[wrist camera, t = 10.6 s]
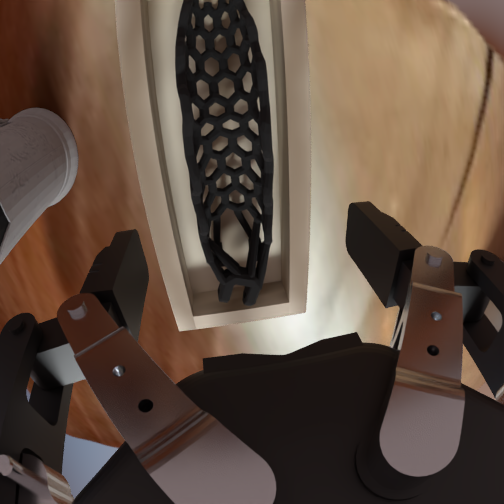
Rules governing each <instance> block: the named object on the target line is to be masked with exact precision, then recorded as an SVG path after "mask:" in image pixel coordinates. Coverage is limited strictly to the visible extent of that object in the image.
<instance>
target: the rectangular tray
mask: <svg viewBox="0 0 504 504" xmlns="http://www.w3.org/2000/svg"><path fill="white" fill-rule="evenodd" d="M226 1H227V3H228V4H229V0H226ZM204 2H212V7H213V8H214V9H216V8H217V6H218V0H199V6H200V8H201V9H202V8H203V5H204ZM244 2H245V5H246V7H247V9H248V11H249V13H250V14H251V16H252V17H253V19H254V21H255V24H256V27H257V30H258V39H259V44H260V48H261V52H262V54H263V57H264V59H265V61H266V67H267V76H268V90H269V101H270V113H271V131H272V149H273V156H274V176H273V225H272V240H273V241H272V243H271V246H270V250H269V256H268V263H267V269H266V274H265V278H264V282H263V286H262V289H261V290H260V292H259V295H258V298H257V301H256V303H255V304H254V305H253V306H246V305H244V304H243V301H242V299H243V291H244V288H245V286H241V285H234V287H233V290H232V294H231V297H230V300H229V301H228V302H227V303H224V302H220V301H219V299H218V287H219V283H220V282H219V281H218V280H217V278H216V276H215V274H214V272H213V270H212V268H211V267H210V265H209V264H207V263H206V258H205V255H204V252H203V249H202V246H201V242H200V238H199V234H198V227H197V218H196V213H195V210H194V206H193V203H192V199H191V191H190V179H189V170H188V166H187V163H186V159H185V154H184V145H183V135H182V112H181V106H180V99H179V96H178V92H177V87H176V73H175V45H176V36H177V28H178V21H179V16H180V11H181V7H182V4H183V0H115V12H116V27H117V39H118V50H119V60H120V69H121V77H122V85H123V92H124V99H125V106H126V113H127V119H128V125H129V131H130V137H131V143H132V148H133V154H134V159H135V164H136V169H137V174H138V179H139V183H140V188H141V193H142V197H143V202H144V206H145V210H146V215H147V219H148V223H149V227H150V231H151V235H152V239H153V243H154V247H155V251H156V254H157V258H158V262H159V265H160V269H161V273H162V276H163V280H164V283H165V287H166V290H167V293H168V297H169V300H170V303H171V307H172V310H173V313H174V316H175V319H176V323H177V326H178V329H179V331H185V330H193V329H201V328H209V327H217V326H224V325H231V324H238V323H245V322H251V321H258V320H264V319H270V318H276V317H282V316H288V315H294V314H299V313H305V312H306V301H307V285H308V266H309V242H310V210H311V103H310V73H309V51H308V34H307V19H306V6H305V0H244ZM237 13H238V16H239V19H240V15H239V12H238V10H237ZM221 20H222V25H223V27H224V28H227V29H228V27H229V24H230V18H229V15H228V13H227V12H224V13H223V15H222V17H221ZM191 23H192V26H193V29H194V28H195V16H194V14H192V20H191ZM204 27H205V28H206V29H207V30H208V32H210V31H211V30H212V29H213V19H212V18H211V17H210V16H209V15H207V16H206V17H205V18H204ZM234 37H235V41H236V45H238V46H240V45H241V42H242V39H243V38H242V35H241V32H240V29H239V28H237V30H236V33H235V35H234ZM214 44H215V50H217V51H219V52H220V53H222V52H223V51H224V50H225V49H226V47H227V44H226V38H225V37H224V36H222V35H220V34H219V35H218V36H217V37H216V38H215V39H214ZM196 48H197V50H198V51H199V52H200V54H202V53H203V52H204V51H205V40H204V39H203V38H202V37H201V36H200V35H198V36H197V37H196ZM248 56H249V60H250V63H251V62H252V57H253V56H252V52H251V48H250V49H249V52H248ZM240 65H241V64H240V59H239V55H237V54H234V53H233V54H232V55H231V56H230V57H229V59H228V68H229V70H231V71H233V72H235V73H236V71H237V70H238V68H239V67H240ZM189 68H190V69H191V71H192V73H195V72H196V68H195V61H194V60H193V58H192V57H191V56H190V55H189ZM205 71H206V72H207V73H208V74H210V75H211V76H214V75H215V74H216V73H217V72H219V62H218V61H217V60H215V59H213V58H212V57H210V58H209V59H207V60H206V61H205ZM242 80H243V86H244V90H245V91H247V92H249V93H250V90H251V87H252V84H253V83H252V77H251V73H249V72H247V73H246V74H245V76H244V78H243V79H242ZM196 85H197V93H198V95H199V96H200V97H201V98H202V99H203V100H205V99H206V98H207V97H208V96H209V85H208V84H207V83H206V82H204V81H203V80H199V81H198V82H197V83H196ZM218 86H219V94H220V95H222V96H224V97H226V98H227V99H228V98H229V97H230V96H231V95H232V94H233V93H234V92H235V91H234V83H233V81H232V80H230V79H227V78H224V79H223V80H221V81H220V82H219V83H218ZM257 103H258V109H259V111H260V103H259V97H258V99H257ZM192 110H193V116H194V119H195V120H196V119H197V118H198V117H199V116H200V114H199V109H198V108H197V107H196V106H195V105H194V104H193V103H192ZM234 111H235V112H238V113H240V114H242V115H243V114H244V113H245V112H246V111H248V105H247V102H246V101H244V100H242V99H240V100H239V101H238V102H237V103H236V104H235V106H234ZM224 112H225V108H224V107H223V106H221V105H219V104H217V103H214V104H213V105H212V106H211V107H210V108H209V114H211V115H214V116H219V115H221V114H223V113H224ZM223 127H224V128H228V129H231V130H233V129H235V128H238V127H239V123H237V122H235V121H233V120H231V119H230V120H228V121H227V122H225V123H223ZM249 127H250V129H251V130H252V131H253V132H254V133H256V134H257V135H259V133H258V124H257V123H256V122H255V121H254V120H253V119H252V120H251V121H249ZM211 130H213V125H211V124H208V123H206V124H205V125H204V126H203V128H202V129H201V136H206V135H207V134H208V133H209V132H210V131H211ZM237 143H238V145H239V146H240V147H241V148H243V149H244V150H245V151H251V150H252V142H250V141H249V140H248V139H247V138H246V137H245V136H244V135H243V136H240V137H238V138H237ZM227 145H228V138H225V137H222V136H219V137H218V138H217V139H216V140H215V141H213V142H212V148H213V149H214V150H217V151H220V150H222V149H223V148H224V147H226V146H227ZM202 154H203V145H200V148H199V151H198V154H197V163H198V162H199V160H200V158H201V156H202ZM226 165H227V166H229V167H232V168H234V169H236V168H238V167H240V166H242V162H241V158H240V157H239V156H237V155H236V154H235V153H231V154H230V155H229V156H228V157H226ZM216 168H217V160H215V159H212V158H211V159H210V161H209V163H208V165H207V167H206V169H205V173H206V177H209V176H210V175H211V174H212V173H213V171H214V170H215V169H216ZM251 168H252V169H253V170H254V171H255V172H256V173H257V175H258V176H259V177H260V178H261V171H260V169H259V167H258V165H257V163H256V161H255V159H252V160H251ZM239 178H240V183H241V184H242V185H244V186H245V187H246V188H248V189H249V190H252V189H254V186H253V183H252V181H251V180H250V179H249V178H248V177H247V175H246V174H243V175H241V176H239ZM230 183H231V177H230V176H228V175H226V174H224V173H223V174H222V176H221V177H220V178H219V179H218V180H217V181H216V184H217V188H224V187H226V186H227V185H228V184H230ZM208 192H209V190H208V185H206V186H205V191H204V195H203V203H204V201H205V199H206V196H207V194H208ZM229 200H230V201H232V202H234V203H241V202H244V196H243V195H242V194H240V193H239V192H238V191H237V190H234V191H233V192H231V193H230V194H229ZM220 203H221V197H220V196H216V197H215V199H214V201H213V203H212V205H211V213H213V212H214V211H215V210H216V208H217V207H218V206H219V204H220ZM252 203H253V204H254V206H255V207H256V208H257V210H258V211H259V212H260V214H261V213H262V211H261V209H260V206H259V204H258V202H257V200H256V198H252ZM242 214H243V215H244V217H245V219H246V221H247V222H248V224H249V226H250V227H251V229H252V227H253V221H254V218H253V217H252V215H251V214H250V213H249V211H248V210H247V209H246V210H243V211H242ZM259 237H260V239H261V242H263V241H264V232H263V227H262V223H261V226H260V236H259ZM210 238H211V239H212V240H213V221H211V227H210ZM248 239H249V237H248V236H247V234H246V232H245V231H244V229H243V227H242V226H241V224H240V222H239V221H238V219H237V217H236V216H235V214H234V211H233V210H231V209H228V208H227V209H226V210H225V211H224V212H223V214H222V215H221V230H220V242H222V247H223V250H224V251H225V252H226V253H228V254H229V255H230V256H231V257H232V258H233V259H234V260H235V261H236V262H238V263H239V265H240V266H241V267H246V263H247V257H248V251H249V244H248ZM257 262H258V261H257ZM257 262H256V266H257ZM222 268H223V269H224V270H225V269H227V268H226V267H225V266H223V267H222Z"/></svg>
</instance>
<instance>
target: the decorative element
mask: <svg viewBox="0 0 504 504" xmlns="http://www.w3.org/2000/svg"><path fill="white" fill-rule="evenodd" d="M237 10H238V12H239V15H240V19H239V16H238V13H237ZM224 12H227V13H228V15H229V18H230V24H229V27H228V29H227V28H224V27H223V25H222V20H221V17H222V15H223V13H224ZM192 14H194V16H195V28H194V29H193V26H192V23H191V20H192ZM207 15H209V16H210V17H211V18H212V19H213V29H212V30H211V31H210V32H208V30H207V29H206V28H205V27H204V18H205V17H206V16H207ZM237 28H239V29H240V32H241V35H242V38H243V39H242V42H241V45H240V46H238V45H236V41H235V37H234V35H235V33H236V30H237ZM219 34H220V35H222V36H224V37H225V38H226V44H227V47H226V49H225V50H224V51H223V52H222V53H220V52H219V51H217V50H215V44H214V39H215V38H216V37H217V36H218V35H219ZM198 35H200V36H201V37H202V38H203V39H204V40H205V51H204V52H203V53H202V54H200V52H199V51H198V50H197V48H196V37H197V36H198ZM250 48H251V52H252V56H253V57H252V62H251V63H250V60H249V56H248V52H249V49H250ZM233 53H234V54H237V55H239V59H240V64H241V65H240V67H239V68H238V70H237V71H236V73H235V72H233V71H231V70H229V68H228V59H229V57H230V56H231V55H232V54H233ZM189 55H190V56H191V57H192V58H193V60H194V61H195V68H196V72H195V73H192V71H191V69H190V68H189ZM210 57H212V58H213V59H215V60H217V61H218V62H219V72H217V73H216V74H215V75H214V76H211V75H210V74H208V73H207V72H206V71H205V61H206V60H207V59H209V58H210ZM247 72H249V73H251V77H252V83H253V84H252V87H251V90H250V93H249V92H247V91H245V90H244V86H243V80H242V79H243V78H244V76H245V74H246V73H247ZM175 73H176V87H177V92H178V96H179V99H180V106H181V112H182V135H183V145H184V154H185V159H186V163H187V166H188V170H189V179H190V191H191V199H192V203H193V206H194V210H195V213H196V218H197V227H198V234H199V238H200V242H201V246H202V249H203V252H204V255H205V258H206V263H207V264H209V265H210V267H211V268H212V270H213V272H214V274H215V276H216V278H217V280H218V281H219V282H220V283H219V287H218V299H219V301H220V302H224V303H227V302H228V301H229V300H230V297H231V294H232V290H233V287H234V285H241V286H245V288H244V291H243V299H242V301H243V304H244V305H246V306H253V305H254V304H255V303H256V301H257V298H258V295H259V292H260V290H261V289H262V286H263V282H264V278H265V274H266V269H267V263H268V256H269V250H270V246H271V243H272V241H273V240H272V225H273V176H274V156H273V149H272V131H271V113H270V101H269V90H268V76H267V67H266V61H265V59H264V57H263V54H262V52H261V48H260V44H259V39H258V30H257V27H256V24H255V21H254V19H253V17H252V16H251V14H250V13H249V11H248V9H247V7H246V5H245V2H244V0H229V4H228V3H227V1H226V0H218V6H217V8H216V9H214V8H213V7H212V2H204V5H203V8H202V9H201V8H200V6H199V0H183V4H182V7H181V11H180V16H179V21H178V28H177V36H176V45H175ZM224 78H227V79H230V80H232V81H233V83H234V91H235V92H234V93H233V94H232V95H231V96H230V97H229V98H228V99H227V98H226V97H224V96H222V95H220V94H219V86H218V83H219V82H220V81H221V80H223V79H224ZM199 80H203V81H204V82H206V83H207V84H208V85H209V96H208V97H207V98H206V99H205V100H203V99H202V98H201V97H200V96H199V95H198V93H197V85H196V83H197V82H198V81H199ZM258 97H259V103H260V111H259V109H258V103H257V99H258ZM240 99H242V100H244V101H246V102H247V105H248V111H246V112H245V113H244V114H243V115H242V114H240V113H238V112H235V111H234V106H235V104H236V103H237V102H238V101H239V100H240ZM192 103H193V104H194V105H195V106H196V107H197V108H198V109H199V114H200V116H199V117H198V118H197V119H196V120H195V119H194V116H193V110H192ZM214 103H217V104H219V105H221V106H223V107H224V108H225V112H224V113H223V114H221V115H219V116H214V115H211V114H209V108H210V107H211V106H212V105H213V104H214ZM230 119H231V120H233V121H235V122H237V123H239V127H238V128H235V129H233V130H231V129H228V128H224V127H223V123H225V122H227V121H228V120H230ZM252 119H253V120H254V121H255V122H256V123H257V124H258V133H259V135H257V134H256V133H254V132H253V131H252V130H251V129H250V127H249V121H251V120H252ZM206 123H208V124H211V125H213V130H211V131H210V132H209V133H208V134H207V135H206V136H201V129H202V128H203V126H204V125H205V124H206ZM243 135H244V136H245V137H246V138H247V139H248V140H249V141H250V142H252V150H251V151H245V150H244V149H243V148H241V147H240V146H239V145H238V143H237V138H238V137H240V136H243ZM219 136H222V137H225V138H228V145H227V146H226V147H224V148H223V149H222V150H220V151H217V150H214V149H213V148H212V142H213V141H215V140H216V139H217V138H218V137H219ZM200 145H203V154H202V156H201V158H200V160H199V162H198V163H197V154H198V151H199V148H200ZM231 153H235V154H236V155H237V156H239V157H240V158H241V162H242V166H240V167H238V168H236V169H234V168H232V167H229V166H227V165H226V157H228V156H229V155H230V154H231ZM211 158H212V159H215V160H217V168H216V169H215V170H214V171H213V173H212V174H211V175H210V176H209V177H206V173H205V169H206V167H207V165H208V163H209V161H210V159H211ZM252 159H255V161H256V163H257V165H258V167H259V169H260V171H261V178H260V177H259V176H258V175H257V173H256V172H255V171H254V170H253V169H252V168H251V160H252ZM223 173H224V174H226V175H228V176H230V177H231V183H230V184H228V185H227V186H226V187H224V188H217V184H216V181H217V180H218V179H219V178H220V177H221V176H222V174H223ZM243 174H246V175H247V177H248V178H249V179H250V180H251V181H252V183H253V186H254V189H252V190H249V189H248V188H246V187H245V186H244V185H242V184H241V183H240V178H239V176H241V175H243ZM206 185H208V190H209V192H208V194H207V196H206V199H205V201H204V203H203V195H204V191H205V186H206ZM234 190H237V191H238V192H239V193H240V194H242V195H243V196H244V202H241V203H234V202H232V201H230V200H229V194H230V193H231V192H233V191H234ZM216 196H220V197H221V203H220V204H219V206H218V207H217V208H216V210H215V211H214V212H213V213H211V205H212V203H213V201H214V199H215V197H216ZM252 198H256V200H257V202H258V204H259V206H260V209H261V211H262V213H261V214H260V212H259V211H258V210H257V208H256V207H255V206H254V204H253V203H252ZM227 208H228V209H231V210H233V211H234V214H235V216H236V217H237V219H238V221H239V222H240V224H241V226H242V227H243V229H244V231H245V232H246V234H247V236H248V237H249V239H248V244H249V251H248V257H247V263H246V267H241V266H240V265H239V263H238V262H236V261H235V260H234V259H233V258H232V257H231V256H230V255H229V254H228V253H226V252H225V251H224V250H223V247H222V242H220V230H221V215H222V214H223V212H224V211H225V210H226V209H227ZM246 209H247V210H248V211H249V213H250V214H251V215H252V217H253V218H254V221H253V227H252V229H251V227H250V226H249V224H248V222H247V221H246V219H245V217H244V215H243V214H242V211H243V210H246ZM211 221H213V240H212V239H211V238H210V227H211ZM261 223H262V227H263V232H264V241H263V242H261V239H260V237H259V236H260V226H261ZM257 261H258V262H257ZM256 262H257V266H256ZM223 266H225V267H226V268H227V269H225V270H224V269H223V268H222V267H223Z"/></svg>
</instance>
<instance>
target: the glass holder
mask: <svg viewBox="0 0 504 504" xmlns="http://www.w3.org/2000/svg"><path fill="white" fill-rule="evenodd" d="M8 120H9V121H8ZM77 168H78V151H77V145H76V142H75V139H74V136H73V134H72V132H71V130H70V128H69V127H68V125H67V124H66V123H65V122H64V121H63V120H62V119H61V118H60V117H59V116H58V115H57V114H55V113H53V112H52V111H49V110H47V109H43V108H29V109H26V110H23V111H21V112H19V113H17V114H15V115H14V116H13V117H12V118H11V119H0V264H1V263H2V262H3V260H4V259H5V258H6V256H7V255H8V254H9V252H10V251H11V250H12V249H13V247H14V246H15V245H16V243H17V242H18V241H19V240H20V239H21V237H22V236H23V235H24V234H25V232H26V231H27V230H28V229H29V228H30V227H31V225H32V224H33V223H34V222H35V221H36V220H37V218H38V217H39V216H40V215H41V214H42V213H43V212H44V211H45V209H46V208H47V207H49V206H51V205H54V204H55V203H57V202H59V201H60V200H61V199H62V198H63V197H64V196H66V194H67V193H68V192H69V190H70V189H71V187H72V185H73V183H74V180H75V177H76V174H77Z"/></svg>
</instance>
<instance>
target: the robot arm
mask: <svg viewBox="0 0 504 504" xmlns="http://www.w3.org/2000/svg"><path fill="white" fill-rule="evenodd" d="M346 248H347V251H348V253H349V255H350V256H351V258H352V259H353V261H354V262H355V264H356V265H357V266H358V268H359V269H360V271H361V272H362V274H363V275H364V277H365V278H366V279H367V281H368V282H369V284H370V285H371V287H372V288H373V290H374V291H375V293H376V294H377V296H378V297H379V299H380V300H381V302H382V303H383V305H384V306H385V308H388V307H393V306H397V305H398V306H399V307H400V308H399V311H398V314H397V318H396V323H395V327H394V331H393V335H392V339H391V343H390V347H388V346H385V345H381V344H375V343H362V341H361V339H360V337H359V335H358V334H357V332H355V333H351V334H346V335H342V336H337V337H333V338H328V339H323V340H320V341H318V342H316V343H313V344H311V345H309V346H306V347H304V348H302V349H299V350H297V351H294V352H292V353H290V354H287V355H263V354H243V353H242V354H235V355H227V356H219V357H211V358H203V370H202V371H199V372H197V373H195V374H192V375H190V376H188V377H186V378H185V379H183V380H181V381H180V382H178V383H177V384H175V383H174V382H173V381H172V380H171V379H170V378H169V377H168V376H167V375H166V374H165V373H164V372H163V371H162V370H161V368H160V367H159V366H158V365H157V364H156V363H155V362H154V361H153V360H152V359H151V357H150V356H149V355H148V354H147V353H146V352H145V351H144V350H143V348H142V347H141V346H140V345H139V344H138V336H139V330H140V324H141V318H142V313H143V307H144V302H145V296H146V291H147V286H148V281H149V273H148V267H147V263H146V259H145V256H144V252H143V249H142V245H141V242H140V238H139V235H138V232H137V230H136V229H134V230H127V231H121V232H116V234H115V236H114V238H113V240H112V242H111V245H110V246H109V247H105V248H104V249H103V250H102V251H101V252H100V253H99V254H98V255H97V256H96V258H95V260H94V262H93V266H92V267H91V269H90V271H89V272H90V273H88V275H87V278H86V280H85V282H84V284H83V287H82V289H81V291H80V294H77V295H74V296H72V297H70V298H68V299H67V300H66V301H64V302H63V303H62V305H61V306H60V307H59V309H58V311H57V317H56V318H54V319H51V320H48V321H45V322H42V323H39V324H38V322H37V321H36V319H35V317H34V316H33V315H32V314H30V313H21V314H18V315H16V316H15V317H13V318H12V319H10V320H9V321H8V322H7V323H6V325H5V326H4V328H3V329H2V332H1V334H0V504H504V262H503V261H502V260H501V259H499V258H498V257H497V256H496V255H494V254H492V253H490V252H488V251H485V250H474V251H472V252H471V254H470V257H469V261H468V263H467V262H453V259H452V257H451V256H450V255H449V254H448V253H447V252H446V251H444V250H442V249H440V248H437V247H434V246H422V245H421V244H420V243H419V242H418V241H417V240H416V239H415V238H414V237H413V236H412V235H411V234H410V233H409V232H408V231H406V229H405V228H403V227H402V226H400V224H399V223H398V222H397V221H396V220H395V219H394V218H393V217H391V216H389V215H387V214H385V213H383V212H381V211H380V210H378V209H377V208H376V207H375V206H374V205H373V204H372V203H371V202H369V201H367V202H356V203H351V204H350V205H349V208H348V219H347V230H346ZM463 344H464V346H465V347H466V349H467V350H468V352H469V354H470V355H471V357H472V358H473V360H474V362H475V363H476V365H477V367H478V368H479V370H480V372H481V374H482V375H483V377H484V379H485V381H486V382H487V384H488V386H489V387H490V389H491V391H492V393H493V395H494V397H495V399H496V400H494V399H492V398H490V397H488V396H486V395H484V394H481V393H480V392H478V391H476V390H474V389H472V388H470V387H468V386H466V385H464V384H462V383H461V372H462V353H463ZM30 377H31V378H32V379H33V380H34V384H33V388H32V391H31V395H30V399H29V402H28V400H27V396H26V389H27V385H28V381H29V378H30ZM83 379H86V380H87V382H88V384H89V385H90V387H91V389H92V390H93V392H94V394H95V395H96V397H97V399H98V400H99V402H100V403H101V405H102V407H103V408H104V410H105V411H106V413H107V414H108V416H109V418H110V419H111V421H112V422H113V424H114V425H115V426H116V428H117V429H118V431H119V432H120V434H121V435H122V437H123V438H124V439H125V442H124V443H123V444H122V445H121V446H120V448H119V449H118V450H117V451H116V452H115V453H114V455H113V456H112V457H111V458H110V459H109V460H108V461H107V463H106V464H105V465H104V466H103V467H102V468H101V469H100V471H99V472H98V473H97V474H96V475H95V476H94V477H93V478H92V480H91V481H90V482H89V483H88V484H87V485H86V486H85V487H84V489H83V490H82V491H81V492H80V493H79V494H78V495H77V496H76V498H75V499H74V498H73V496H72V495H71V490H70V486H69V484H68V482H67V480H66V479H65V478H64V476H63V475H62V463H63V451H64V441H65V433H66V426H67V418H68V412H69V405H70V399H71V393H72V388H73V383H74V382H77V381H80V380H83Z"/></svg>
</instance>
